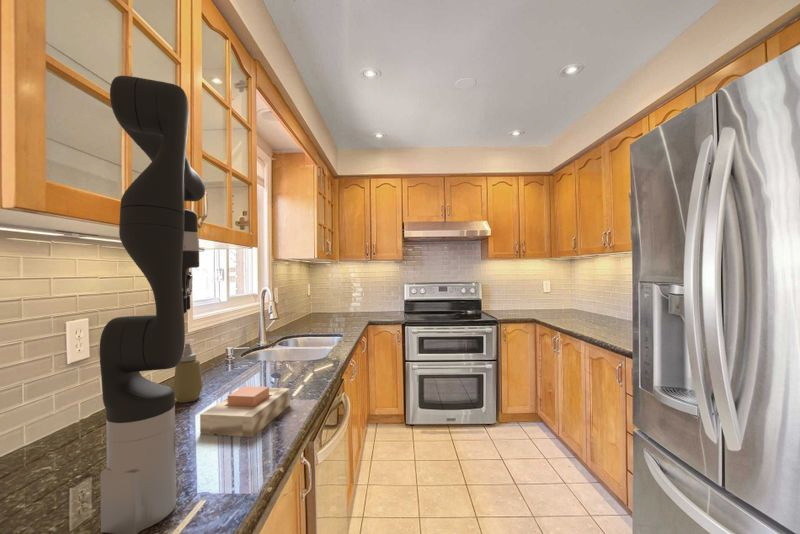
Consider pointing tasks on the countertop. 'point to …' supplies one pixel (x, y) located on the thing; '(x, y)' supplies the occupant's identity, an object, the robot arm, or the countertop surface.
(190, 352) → the squeeze bottle
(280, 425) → the countertop surface
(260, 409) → the button housing
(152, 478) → the robot arm
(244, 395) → the button
